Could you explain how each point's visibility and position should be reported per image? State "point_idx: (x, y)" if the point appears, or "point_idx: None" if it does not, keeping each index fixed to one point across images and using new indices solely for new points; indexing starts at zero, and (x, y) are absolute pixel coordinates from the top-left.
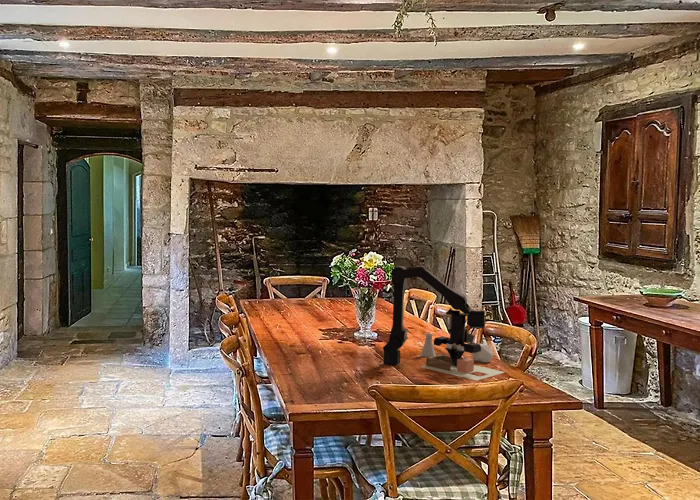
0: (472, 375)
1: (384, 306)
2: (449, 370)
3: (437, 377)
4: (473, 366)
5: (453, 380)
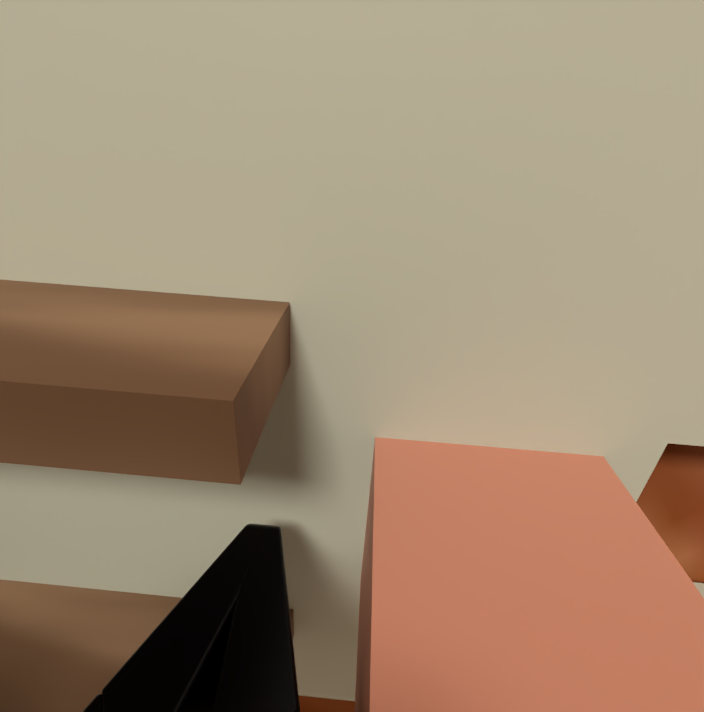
0: None
1: None
2: (292, 628)
3: (309, 706)
4: (655, 540)
5: None
